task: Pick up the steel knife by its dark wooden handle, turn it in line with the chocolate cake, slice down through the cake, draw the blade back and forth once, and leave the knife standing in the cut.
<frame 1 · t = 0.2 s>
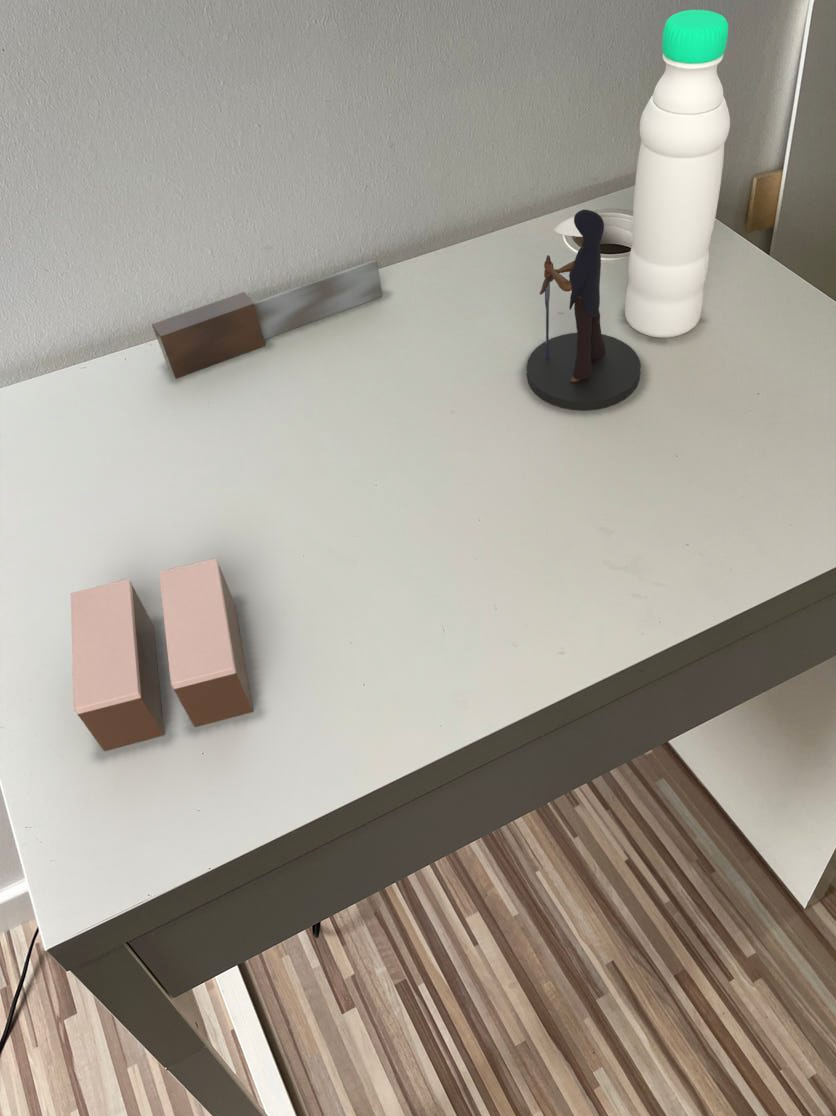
water bottle: (661, 321, 88), on the table
knife: (216, 355, 88), on the table
figurine: (583, 376, 84), on the table
cake: (173, 674, 65), on the table
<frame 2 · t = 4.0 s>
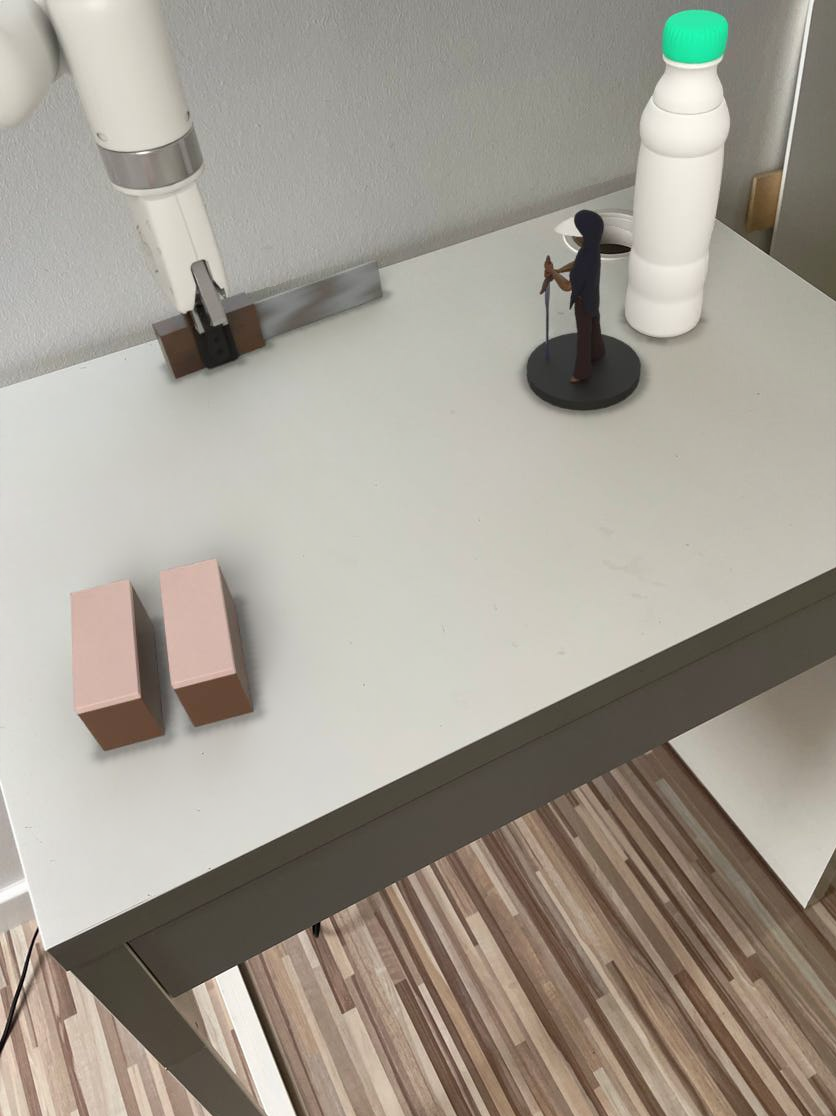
hand: (215, 352, 88), 0 cm above the table, tool pointing down, fingers closed on knife, 2 cm apart
knife: (216, 355, 88), on the table, touching gripper
everything else where it was.
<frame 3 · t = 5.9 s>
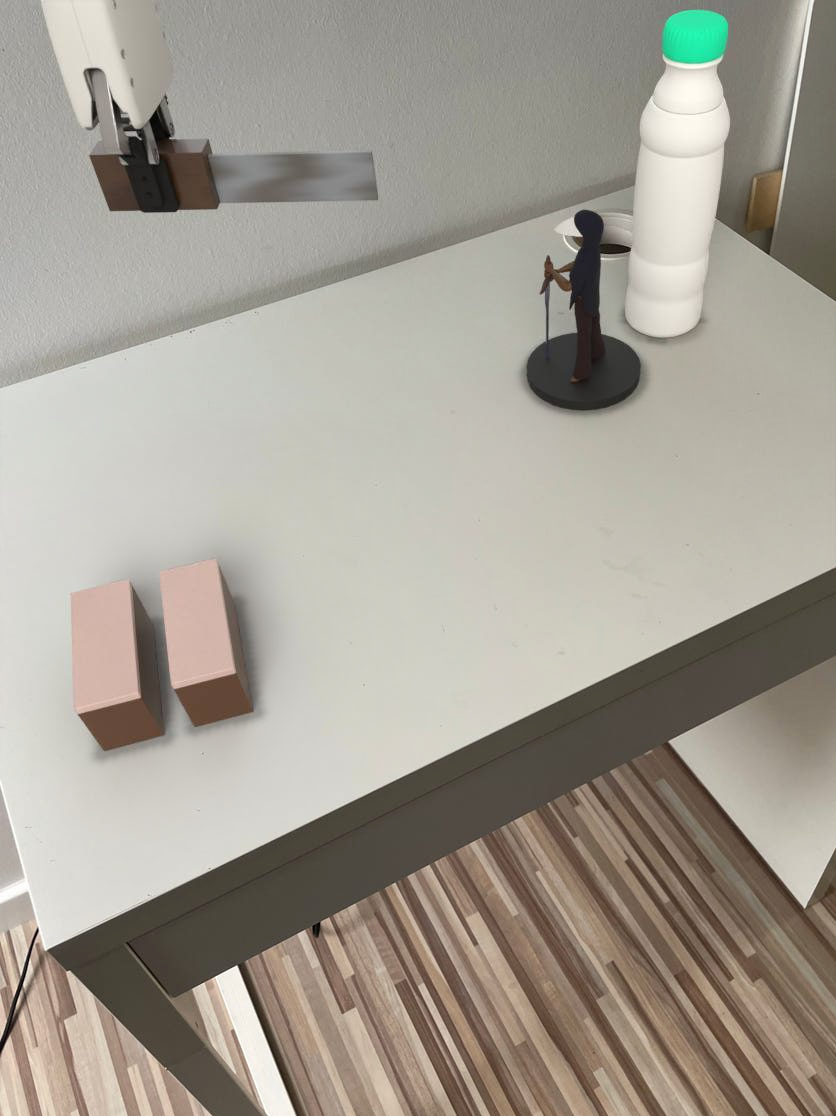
hand: (165, 198, 76), 15 cm above the table, tool pointing down, fingers closed on knife, 2 cm apart
knife: (167, 203, 76), point 15 cm above the table, touching gripper
everything else where it was.
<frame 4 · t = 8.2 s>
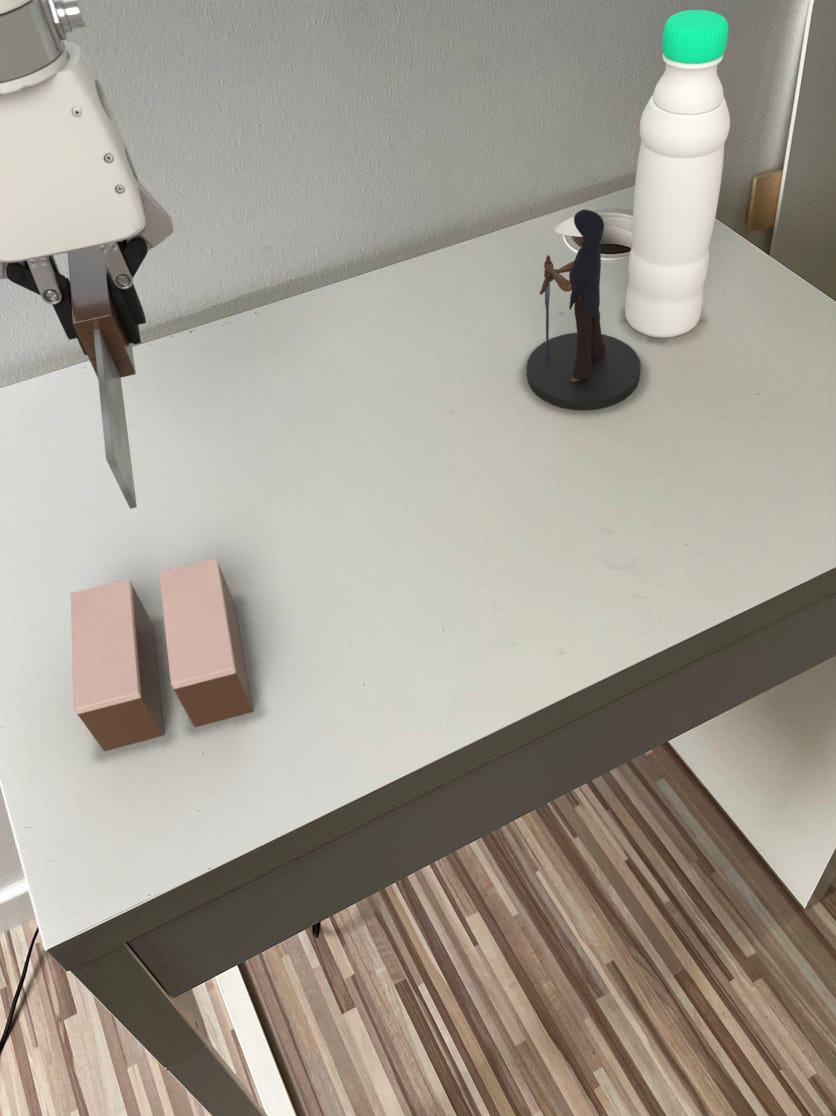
hand: (111, 336, 64), 15 cm above the table, tool pointing down, fingers closed on knife, 2 cm apart
knife: (113, 341, 64), point 15 cm above the table, touching gripper
everything else where it was.
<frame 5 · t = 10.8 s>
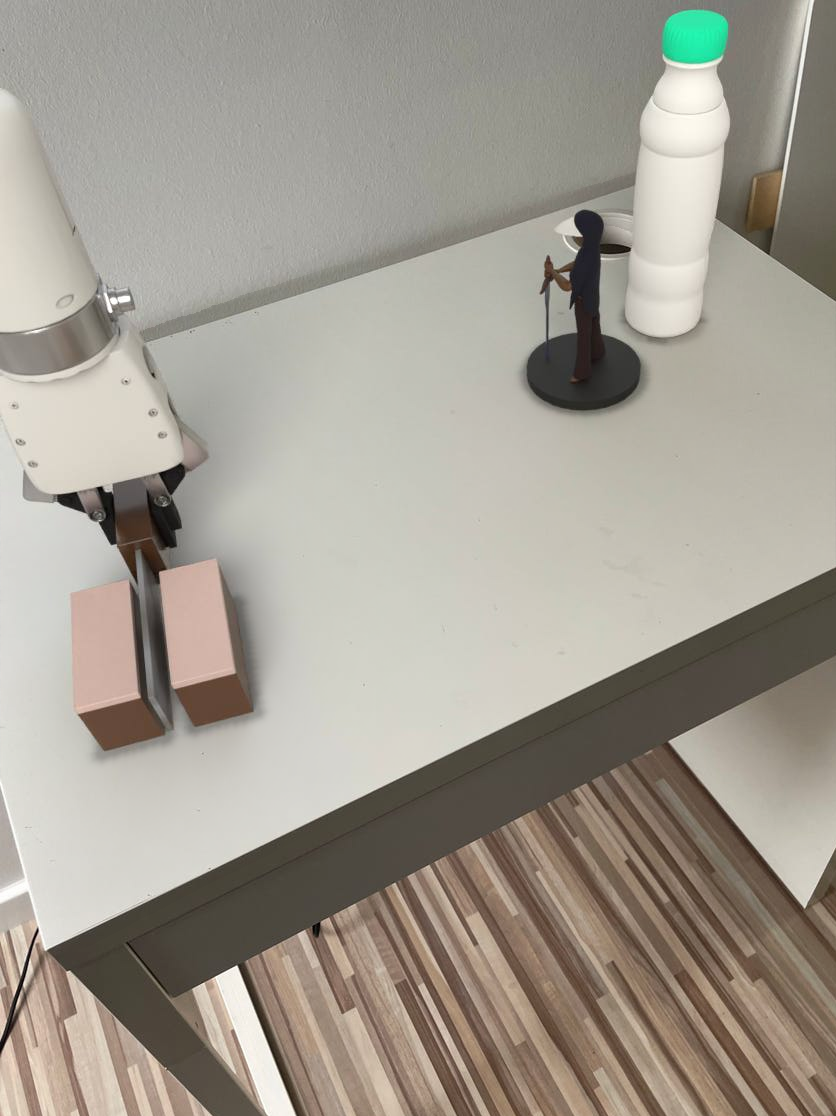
hand: (149, 538, 70), 3 cm above the table, tool pointing down, fingers closed on knife, 2 cm apart
knife: (151, 542, 70), point 2 cm above the table, touching gripper
everything else where it was.
when the fingers open (0 cm above the table, at t = 12.5 s): knife stays where it is, on the table.
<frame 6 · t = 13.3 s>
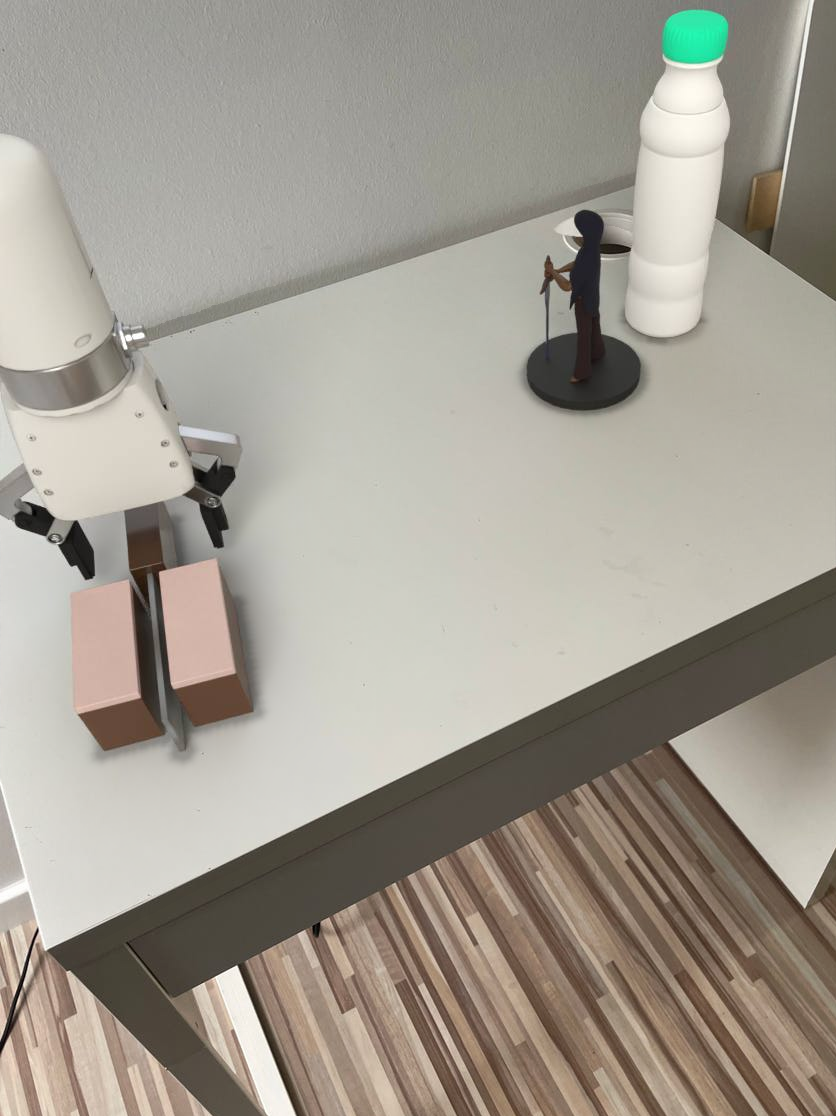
hand: (154, 550, 71), 1 cm above the table, tool pointing down, fingers open, 9 cm apart
knife: (161, 564, 72), on the table
everything else where it was.
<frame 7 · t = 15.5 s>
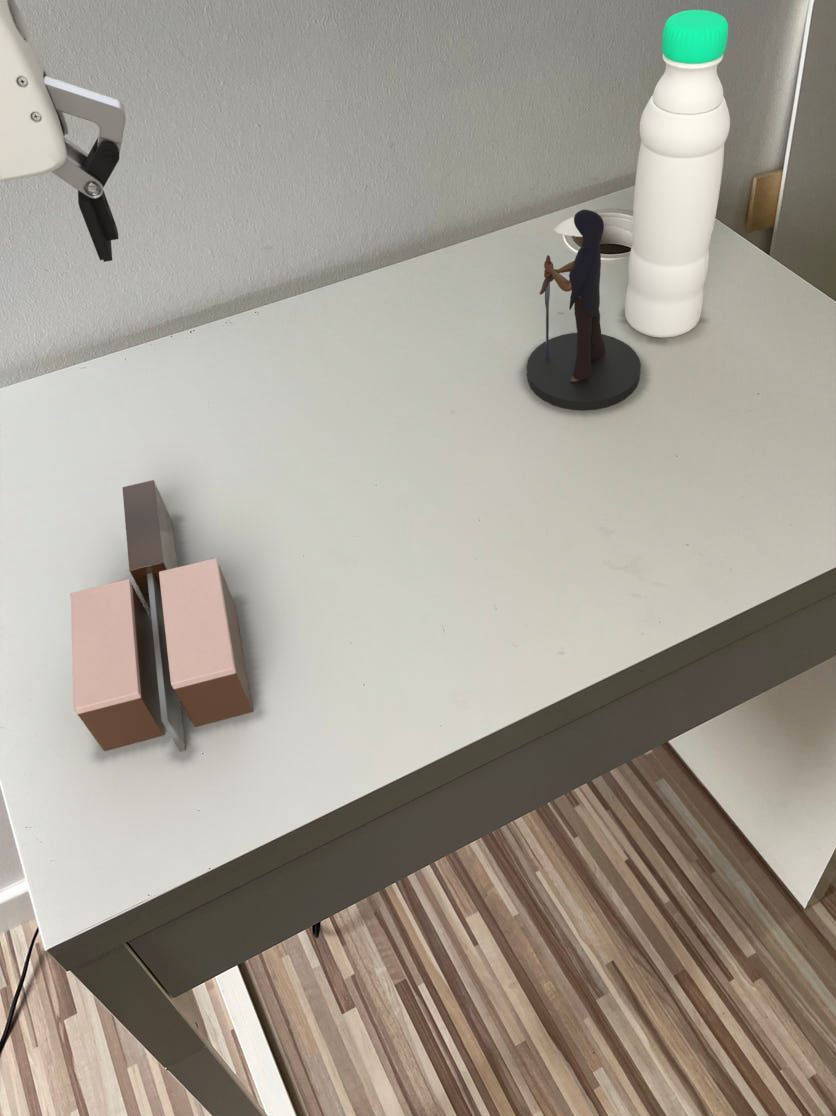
hand: (29, 264, 60), 21 cm above the table, tool pointing down, fingers open, 9 cm apart
nothing on the table moved.
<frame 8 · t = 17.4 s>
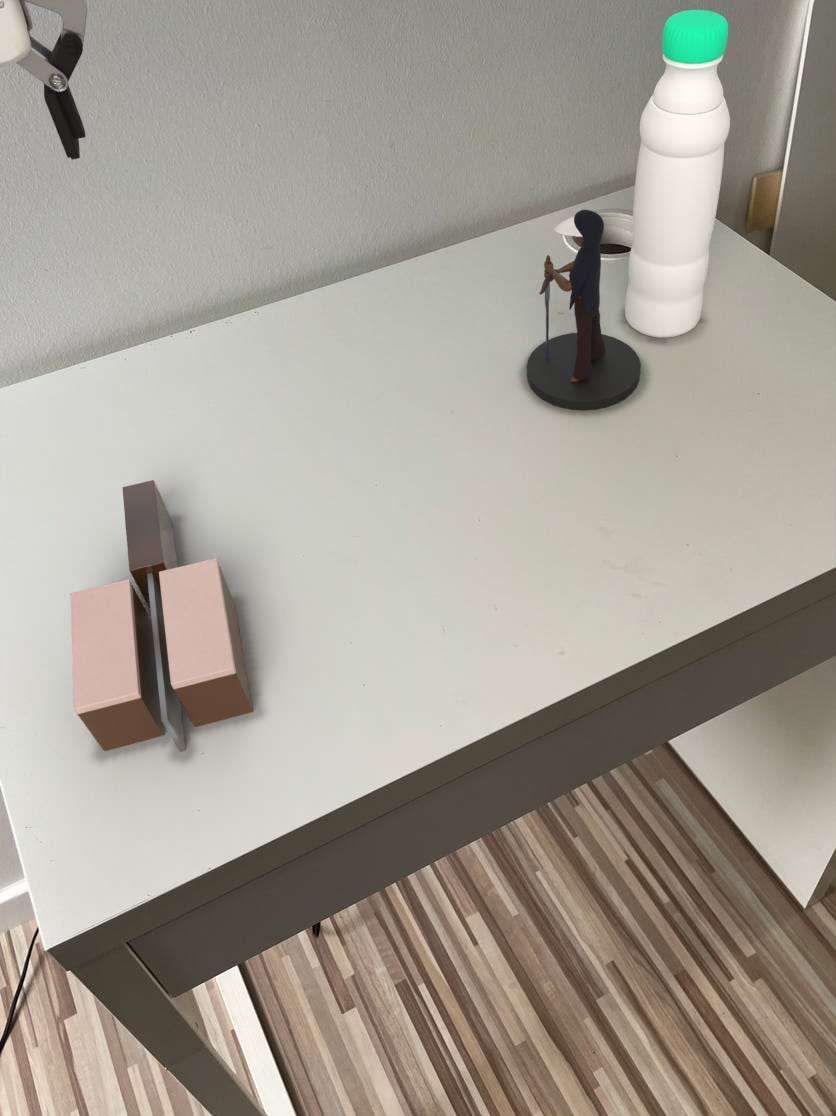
nothing on the table moved.
at the end: knife 0.0 cm from the target spot on the table beside the cake, on the table; knife tilted 0°; the gripper is holding nothing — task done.
